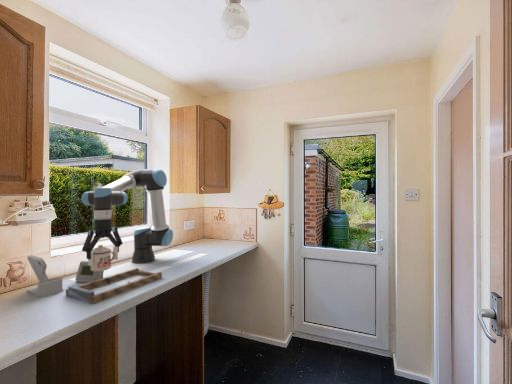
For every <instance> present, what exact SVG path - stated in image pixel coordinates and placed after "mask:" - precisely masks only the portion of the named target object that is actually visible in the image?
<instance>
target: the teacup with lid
mask: <svg viewBox="0 0 512 384" xmlns="http://www.w3.org/2000/svg"><path fill="white" fill-rule="evenodd" d="M91 252H93V266H91V271H107V270H110V269H111V268H112V262H113V261H114V258H115V253H114V252H113V251H112V249H111V248H110V247H109V248H108V247H106V246H104V245H103V244H99V245H98V247H96V248H95V247H94V248H93V250H92V251H91Z"/></svg>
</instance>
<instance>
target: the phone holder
mask: <svg viewBox="0 0 512 384" xmlns="http://www.w3.org/2000/svg"><path fill="white" fill-rule="evenodd" d="M26 259H27V260H28V263H29V264H30V267H31V269H32V270H33V272H34V274H35V276H36V279H37V280H38V283H37V286H34V287H30V288H27V290H26V291H27V292H28V291H29V292H28V293H30V292H31V294H32V293H33V294H32V295H34V294H35V295H34V296H37V298H45V297H48V296H51V295H54V294H57V293H59V294H60V293H61V292H64V288H63V277H61V276H59V277H54V278H48V275H47V273H46V271H47V267H48V266H47V263H46V261H45V260H44V259H43V258H42V257H38V256H37V255H32V254H30V255H28V256H27V257H26Z"/></svg>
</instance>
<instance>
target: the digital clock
mask: <svg viewBox="0 0 512 384" xmlns="http://www.w3.org/2000/svg"><path fill="white" fill-rule="evenodd" d="M104 271H105V270H104ZM104 271H91V266H89V265H88V260H81V261H80V262H79V264H78V268H77V271H76V276H75V282H78V283H79V282H80V283H82V284H85V283H89V282H92V281H95V280H99V279H102V278H104Z"/></svg>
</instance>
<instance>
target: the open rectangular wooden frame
mask: <svg viewBox="0 0 512 384" xmlns="http://www.w3.org/2000/svg"><path fill="white" fill-rule="evenodd" d="M135 275H138V276H143V277H142V278H139V279H136V280H133V281H127V283H124V284H122V285H119V286H116V287H114V288H109V289H107V290H104V291H101V292H99V293H96V294H95V290H94V291H93V290H92V289H96V288H99V287H101V286H104V285H110V284H112V283H113V282H116V281H120V280H123V279H126V278H129V277H132V276H135ZM162 278H163V272H160V271H158V272H153V271H152V272H151V271H145V270H140V268H139V267H134V268H132V269H129V270H125V271H121V272H119V273H114V274H112V275H108V276H106V277H103V278H102V279H99V280H95V281H92V282H89V283H82V284H80V285H70V286H68V288H66V289H65V296H66V297H69V298H73V299H75V300H77V301H78V300H79V301H81V302H85V303H88V304H91V305H94V304H96V303H99V302H102V301H104V300H107V299H110V298H113V297H115V296H118V295H120V294H123V293H125V292H129V291H131V290H134V289H136V288H139V287H141V286H145V285H147V284H149V283H152V282H155V281H157V280H160V279H162Z"/></svg>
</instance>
